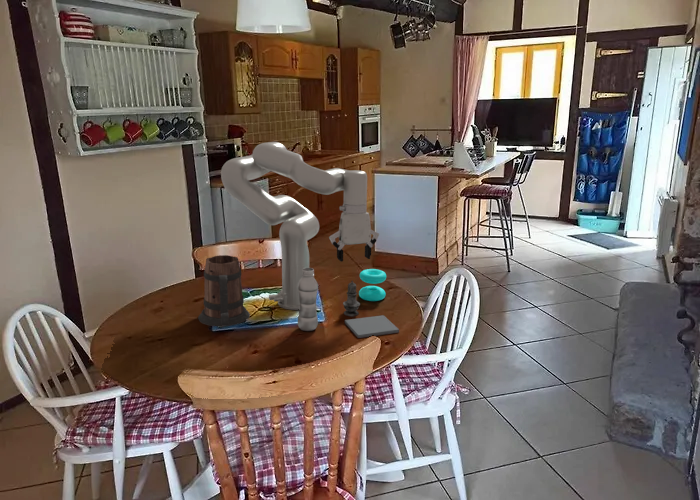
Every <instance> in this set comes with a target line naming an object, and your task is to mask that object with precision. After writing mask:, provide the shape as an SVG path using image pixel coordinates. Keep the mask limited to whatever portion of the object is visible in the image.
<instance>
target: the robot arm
mask: <svg viewBox="0 0 700 500" xmlns="http://www.w3.org/2000/svg"><path fill="white" fill-rule="evenodd" d="M222 165H223V166H222V167H221V170H220V176H221V177H220V179H221V182H222V184H223V187H224V189H225V191H226V192H227V193H228V194H229V196H231V197H232V198H233V199H235V200H236V201H237V202H239V203H240V204H242V205H243V206H244V207H246V209H247V210H249V211H250V212H251V213H252V214H253V215H255V216H256V217H258V218H259V219H260V220H261V221H262V222H264V223H265V224H266V225H269V226H276V225H278V224H281V225H280V228H279V233H278V235H279V236H278V237H279V240H280V248H281V279H282V280H281V282H282V283H281V285H282V286H281V287H282V288H281V289H282V290H279V292H277V294H268V300H269V301H274V303H275V302H277V305H278V306H279V307H280V308H282V309H285V310H292V311H294V310H295V311H297V310H298V309H299V306H300V304H299V293H298V283H299V281H300V279H301V278H302V277H303V276H302V269H303V268H310V252H309V247H308V241H309V240H311V239H312V238H314V237H315V236H316V235H317V234H319V231H320V222H319V219H318V218H317V216H315V214H313V212H311V211H310V210H309V209H308V208H306V206H305V207H304V206H303V205H302V204H301V203H300V202H298V201H297V200H296V199H294V198H293V197H291V196H290V195H285V194H278V195H275V196H273V195H271V194H269V193H268V192H267V191H265V190H264V189H263V188H261V186H258V185H257V184H254V183H252V182H251V180H255V179H259V178H261V177H263V176H264V175H266V174H268V173H270V172H272V173H276V174H278V175H280V176H283V177H286V178H289V179H291V180H292V181H293V182H294V183H296V184H297V185H298V186H300V187H302V188H304V189H306V190H309V191H312V192H314V193H317V194H321V195H327V196H328V195H331V194H334V193H337V192H341V191H343V203H342V205H340V206H339V211H342V212H341V215H340V219H339V228H338V231H336V232H335V233H333V234H331V235H330V236H328V238H329V240H330V243H331V245H333V246H334V247H335V249H336V259H338V260H339V262H340V263H342V262H343V261H344V247H345V245H346V246H347V245H350V246H351V245H359V244H360V245H361V244H365V245H364V257H365V258H366V259H367V260H370V259H371V256H372V248H373V246H374V244H375V243H376V242H377V240H378V238H379V236H380V233H378V232H377V231H375V230H373V229H372V226H371V217H370V213H369V212H367V208H368V207H367V205H368V204H367V198H368V197H367V196H368V175H367V172H366V171H363V170H360V169H359V170H357V169H356V170H349V169H344V168H339V167H334V168H328V169H326V170H324V169H322V168H321V169H320V168H318V167H314V166H311V165H310V164H308V163H306V162H305V161H304V159H303V156H302V155H301V154H299V153H296V152H294V151H290V150H288V149H287V147H286V146H285V145H284V144H282V143H280V142H278V141H268V142H262V143H260V144H257V145H256V146H255V147H254V149H253V150H252V154H250V155H247V156H241V157H234V158H231V159H229V160H227V161H226V162H225V163H224V164H222ZM337 238H338V242H337V241H336V239H337ZM298 311H299V310H298Z"/></svg>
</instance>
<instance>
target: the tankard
mask: <svg viewBox="0 0 700 500" xmlns="http://www.w3.org/2000/svg"><path fill="white" fill-rule="evenodd" d="M203 279H204V297H203V305H204V306H203V307H204V308H203V309H202V310H201V312H200V314H199V315H198V321H199V323H201V324H202V325H207V326H208V327H209V326H210V327H211V326H212V327H231V326H236V325H238V324H242V323H244V322H246V321H247V320H249V318H250V316H251V314H250V311H248V310H247V307H245V305H244V302H245V300H244V295H243V288H242V287H243V286H242V269H241V266H240V263H239V258H238V256H233V255H227V254H224V255H220V254H219V255H215V256H211V257H208V258H206V260H205V267H204V270H203Z"/></svg>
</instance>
